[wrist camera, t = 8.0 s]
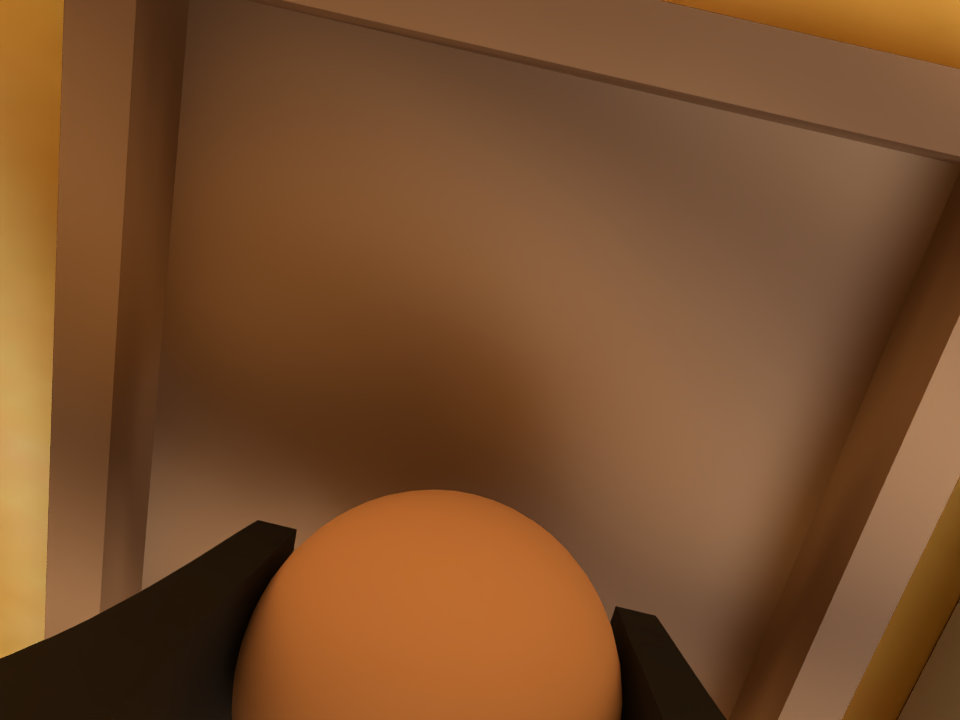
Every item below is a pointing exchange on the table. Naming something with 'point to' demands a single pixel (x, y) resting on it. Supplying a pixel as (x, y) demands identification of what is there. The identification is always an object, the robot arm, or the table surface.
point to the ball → (429, 621)
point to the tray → (515, 304)
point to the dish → (939, 679)
